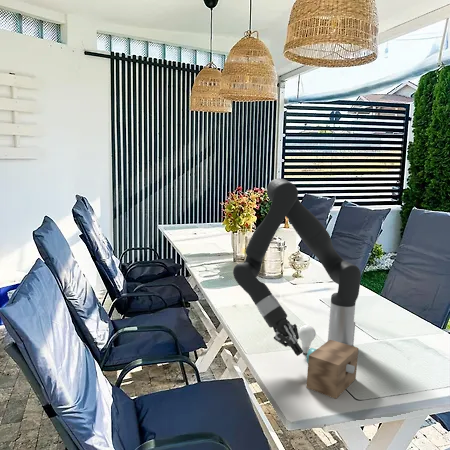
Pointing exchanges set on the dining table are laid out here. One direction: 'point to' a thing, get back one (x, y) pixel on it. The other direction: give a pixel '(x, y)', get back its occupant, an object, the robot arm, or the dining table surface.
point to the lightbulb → (306, 337)
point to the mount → (331, 368)
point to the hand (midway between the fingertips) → (300, 354)
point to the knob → (348, 367)
